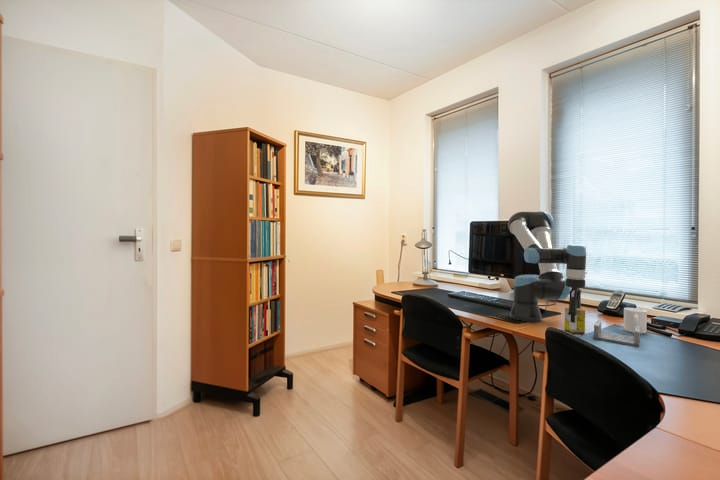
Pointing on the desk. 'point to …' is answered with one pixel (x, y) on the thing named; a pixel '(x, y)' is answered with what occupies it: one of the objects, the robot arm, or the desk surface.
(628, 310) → the mug
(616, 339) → the bracket
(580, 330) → the supplement box
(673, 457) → the desk surface
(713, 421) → the desk surface
